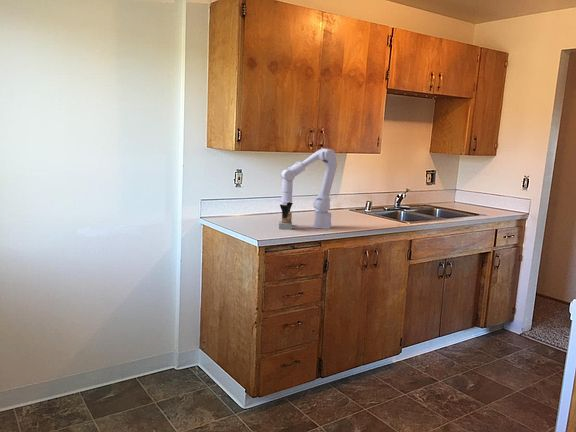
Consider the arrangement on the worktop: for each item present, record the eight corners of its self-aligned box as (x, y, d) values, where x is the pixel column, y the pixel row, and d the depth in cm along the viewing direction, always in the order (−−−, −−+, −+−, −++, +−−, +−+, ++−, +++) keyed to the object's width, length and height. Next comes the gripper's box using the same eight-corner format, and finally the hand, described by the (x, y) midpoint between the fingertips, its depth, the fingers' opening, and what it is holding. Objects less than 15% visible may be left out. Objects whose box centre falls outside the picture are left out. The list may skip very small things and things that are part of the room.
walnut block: (291, 222, 270) (291, 212, 269) (289, 223, 265) (290, 213, 264) (283, 221, 271) (283, 211, 270) (281, 222, 266) (282, 213, 265)
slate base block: (291, 227, 272) (292, 221, 271) (291, 230, 265) (292, 224, 264) (279, 227, 272) (279, 221, 271) (278, 229, 265) (279, 223, 265)
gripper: (281, 190, 273) (280, 214, 275) (277, 193, 259) (276, 218, 261) (294, 190, 272) (293, 214, 274) (290, 193, 258) (289, 219, 260)
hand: (285, 216), depth 267 cm, fingers open, 7 cm apart
